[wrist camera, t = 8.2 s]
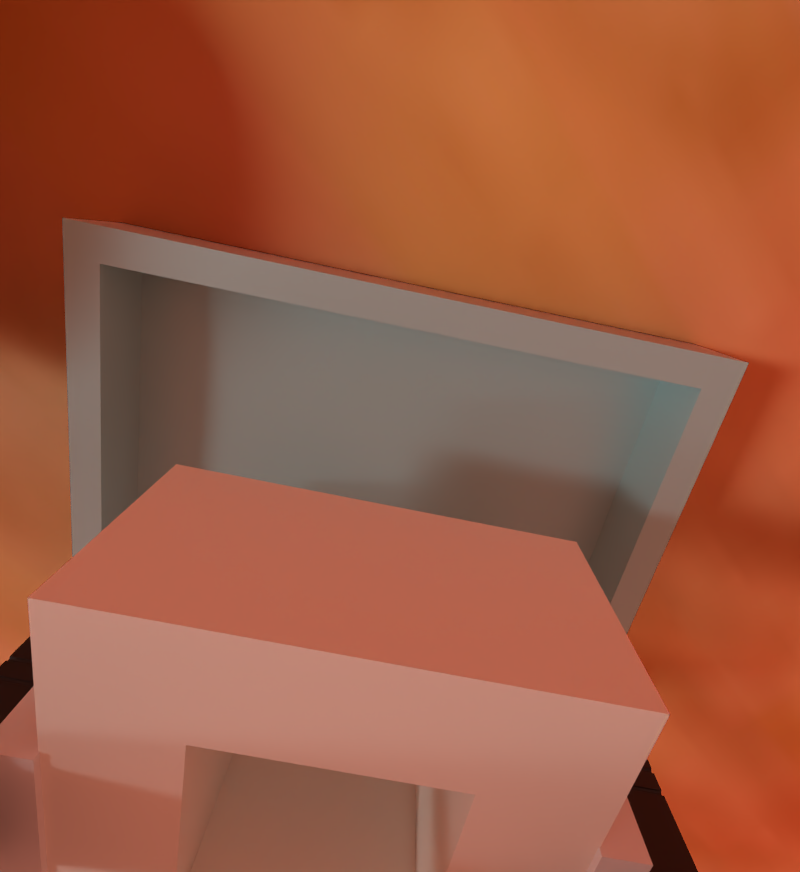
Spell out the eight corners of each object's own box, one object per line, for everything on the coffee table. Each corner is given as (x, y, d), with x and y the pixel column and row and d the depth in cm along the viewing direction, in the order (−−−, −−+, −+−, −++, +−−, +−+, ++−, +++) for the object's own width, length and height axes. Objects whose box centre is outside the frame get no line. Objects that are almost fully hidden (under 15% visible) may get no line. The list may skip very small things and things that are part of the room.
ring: (161, 754, 13) (53, 969, 9) (176, 464, 10) (28, 597, 6) (476, 808, 13) (500, 1038, 9) (576, 541, 10) (670, 714, 6)
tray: (118, 675, 19) (77, 734, 16) (122, 222, 13) (61, 217, 11) (531, 747, 19) (546, 812, 17) (694, 344, 14) (748, 362, 12)
